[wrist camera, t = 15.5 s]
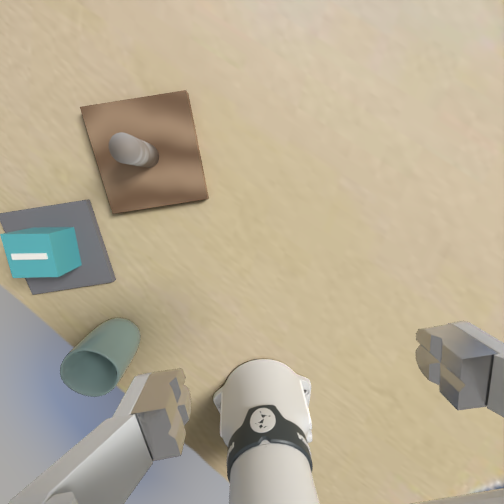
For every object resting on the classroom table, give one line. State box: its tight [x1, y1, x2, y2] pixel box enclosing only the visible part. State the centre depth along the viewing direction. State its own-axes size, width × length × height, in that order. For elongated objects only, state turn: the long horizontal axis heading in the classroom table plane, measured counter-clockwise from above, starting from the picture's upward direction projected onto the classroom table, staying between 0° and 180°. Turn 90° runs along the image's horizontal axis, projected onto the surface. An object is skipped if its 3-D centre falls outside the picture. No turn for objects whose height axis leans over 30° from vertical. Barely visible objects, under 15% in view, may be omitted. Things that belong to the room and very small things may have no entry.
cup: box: [60, 318, 141, 397], centre depth 38 cm, size 8×8×10 cm
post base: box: [80, 90, 209, 214], centre depth 31 cm, size 14×14×8 cm
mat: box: [0, 200, 116, 295], centre depth 37 cm, size 13×13×1 cm
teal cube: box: [0, 227, 82, 278], centre depth 34 cm, size 6×6×5 cm
